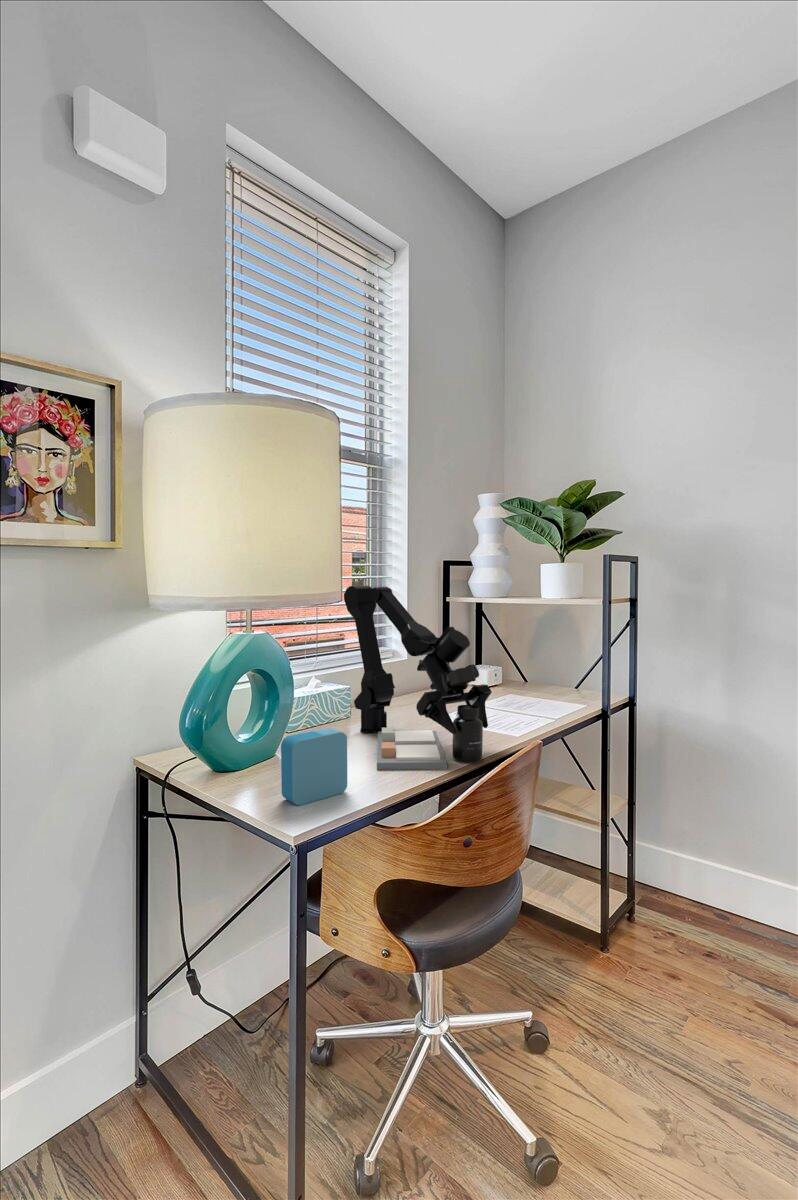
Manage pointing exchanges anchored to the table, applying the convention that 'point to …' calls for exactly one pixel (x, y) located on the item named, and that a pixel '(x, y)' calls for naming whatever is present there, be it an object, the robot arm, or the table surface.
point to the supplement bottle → (467, 735)
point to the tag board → (409, 750)
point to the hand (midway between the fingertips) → (471, 730)
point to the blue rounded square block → (313, 765)
